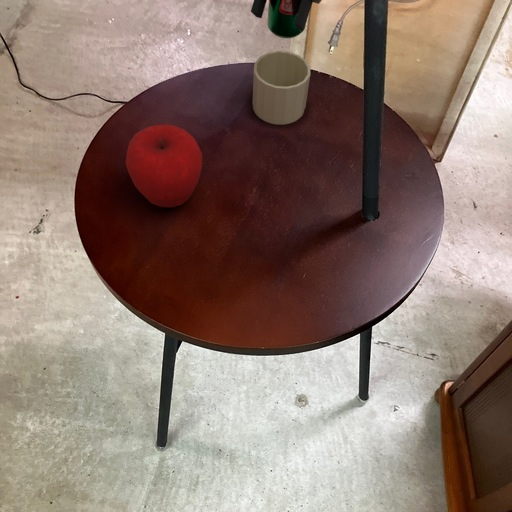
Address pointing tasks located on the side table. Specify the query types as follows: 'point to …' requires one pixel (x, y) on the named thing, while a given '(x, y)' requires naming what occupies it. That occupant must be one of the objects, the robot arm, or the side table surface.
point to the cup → (280, 87)
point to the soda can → (283, 18)
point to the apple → (164, 164)
